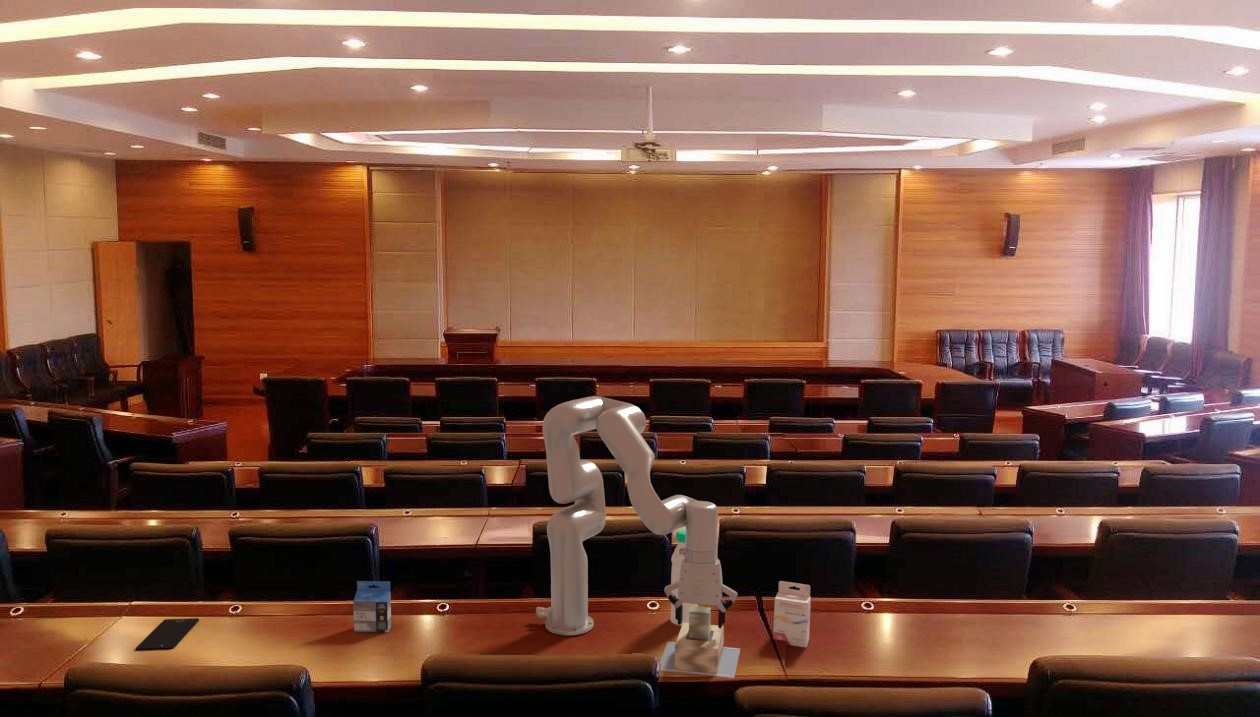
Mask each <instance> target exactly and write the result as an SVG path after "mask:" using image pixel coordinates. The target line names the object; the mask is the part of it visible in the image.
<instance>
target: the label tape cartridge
mask: <svg viewBox="0 0 1260 717" xmlns="http://www.w3.org/2000/svg"><path fill="white" fill-rule="evenodd" d="M356 586H357V587H356V592H355V595H354V599H353V602H352V603H353V604H352V605H353V631H354V633H389V632H390V630H391V628H392V605H391V604H392V603H391V601H392V600H391V598H392V596H391V593H392V592H391V581H379V580H378V581H376V580H357V581H356ZM370 586H371V587H370ZM372 586H376V587H372Z"/></svg>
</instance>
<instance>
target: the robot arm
mask: <svg viewBox="0 0 1260 717" xmlns="http://www.w3.org/2000/svg"><path fill="white" fill-rule="evenodd" d="M646 427H647V419H646V415H645V413H644V412H643V411H642V410H641V409H640V407H638V406H636V405H634V404H632V403H629V402H625V401H620V400H616V399H612V398H608V397H604V396H598V395H592V396H587V397H581V398H578V399H572V400H569V401H565V402H562V403H560V404H556V406H554V407H552V408H551V409H550V410H549V411H548V412H547V413H546V415H545V416H544V418H543V422H542V437H543V441H544V445H545V446H544V447H545V453H546V466H547V477H548V479H547V480H548V490H549V495H550V496H551V498H552V500H553V501H554V502H555V503H557V504H562V505H563V504H569V503H570V504H571V503H573V502H574V504H572V505H569V506H566V507H564V508H561V509H559V510H557V511H555V512H554V513H553V514H551V516H550V518H549V519H548V521H547V525H546V533H547V540H548V544H549V551H550V581H551V582H550V595H551V596H550V597H551V598H550V599H551V600H550V602H551V603H550V604H551V605H550V606H548V607H542V606H537V607H536V609H535V615H537V618H539V619H546V620H545V622H544V624H545V629H546V630H547V632H549V633H552V634H554V635H557V636H558V635H560V636H577V635H582V634H585V633H588V632H589V631H591V630H592V629H593V628H594V618H592V617H591V616H589V612H588V611H589V600H588V599H589V596H588V595H589V593H588V592H589V584H588V583H589V581H588V580H589V576H588V573H589V572H588V570H589V569H588V567H589V565H588V555H587V553H586V550H585V548H584V545H583V542H584V541H586V540H588V539H590V538H592V537H594V536H596V535H598V534H599V533H601V532H602V531H603V529H604V528H605V525H606V520H607V511H606V499H605V488H604V486H605V485H604V478H603V475H602V472H601V470H600V469H599V467H598V466H597V465H596V464H595V463H594V462H593V461H590V460H587V459H583V460H582V459H581V456H580V447H579V444H578V442H577V440H576V439H575V437H574V436H575V435H577V434H582V433H586V432H589V431H593V430H596V431H597V434H598V435H599V437H600V439H601V440H602V441H603V443H604V444H605V446H606V447H607V448H608V450H609V451H610V453H611V455H612V456H613V457H614V459H615V460H616V461H617V463H618V465H619V466H620V467H621V469H622V470H623V472H624V474H625V477H626V488H627V494H628V496H629V497H628V498H629V501H630V504H631V505H632V508H633V509H634V511H635V513H636V514H637V515H638V517H639V518H640V520H641V521H642V523H643V524H644V525H645V527H646V528H648V530H650V531H651V533H654V534H655V535H658V536H659V535H660V536H664V535H665V536H666V535H668V534H670V533H672V532H674V531H675V530H677V529H682V528H685V530H686V540H685V546H686V547H684V548H680V549H679V554H682V555H684V556H685V557H684V558H683V559H682V562H681V567H680V575H679V581H678V582H675V583H673V584H671V583H670V584H668V585H666V586H665V587H664V589H663V591H664V593H665V595H666V597H667V600H669V602H670V604H671V603H672V604H673V605H674V607H675V619H676V620H678V625H677V626H680V624H681V623H682V620H683V605H682V603H690V604H698V605H702V606H703V605H705V606H716V607H717V608H718V615H717V616H718V617H717V618H718V619H717V620H718V622H717V625H718V628H722V626H723V625H725V624H726V612H727V610H728V609H729V608H731V607H732V606H733V604H734V603H735V601H736V599H737V597H738V592H737V591H736V590H734V589H732V588H731V587H729V586H727V585H725V584H723V572H722V565H721V560H720V559H719V558H718V540H719V539H718V538H719V537H718V536H719V535H718V532H719V531H718V530H719V527H718V526H719V509H718V506H717V505H716V504H715V503H713V502H710V501H705V500H704V501H703V500H696V499H695V498H692V497H689V496H686V495H683V494H675V495H672V496H669V497H667V498H665V499H663V500H661V499H660V497H659V495H658V493H656V491H655V489H654V486H653V485H652V483H651V469H652V466H653V464H654V463H655V458H656V455H655V453H654V451H653V450H652V449H651V447H650V445H649V444H648V443H647V442H646V440H645V438H644V437H643V436H642V434H643V433H644V431H645V429H646ZM677 588H679V589H678V599H677V598H676V597H675V595H674V594H673V593H672V591H673V590H675V589H677ZM723 593H724V594H726V595H727V596H729V598H728V599H727V600H726V601H725V600H724V599H723V598H722V597H723Z"/></svg>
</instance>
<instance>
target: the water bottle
mask: <svg viewBox="0 0 1260 717" xmlns="http://www.w3.org/2000/svg"><path fill="white" fill-rule="evenodd" d="M675 539H676V543H677V546H676V547H675V548H674V551H673V553H672V555H671V559H670V560H671V563H672V564H671V573H670V574H671V575H670V576H671V577H670V584H673V583H675V582H678V581H679V575H680V567H681V562H682V559H683V558H684V557H685V556H684V555H682V554H679V549H680V548H684V547H686V546H685V540H686V529H681V530H678V531H677V532H676V534H675ZM678 589H679V588H677V589H675V590H673V591H672V593H673V594H674V595H675V597H676V598H677V599H678ZM682 605H683V620H682V623H681V624H680V625H678V620H676V619H675V607H674V605H673V604H672V603H671V602H670V608H671V609H670V610H671V612H670V622H671V623H672V624H674V625H675V626H676V625H677V626H681V627H682V624H683V622H684V623H689V613H690V610H691V607H692V606H697V607H699V604H690V603H682Z"/></svg>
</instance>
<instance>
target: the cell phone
mask: <svg viewBox="0 0 1260 717" xmlns="http://www.w3.org/2000/svg"><path fill="white" fill-rule="evenodd" d="M199 620H200V618H197V617H196V618H193V617H192V618H167V619H164V620H162V621H161V623H159V624H158V625H157V626H156V627H155V628H154V629H153V630H152V631H151V632H150V633H149V634H148V635H147V636H146V637H145V638H144V639H143V640H142V641H141V642H140V643H139V644H138V645H137V646H136V647H135V650H136V651H140V652H141V651H163V650H166V651H169V650H174V649H175V648H176V647H177V645H179V644H180V642H181V641H182V640H184V638H185V637H186V636H187V635H188V634H189V632H190V631H191V630H192V629H193V628H194V627H195V626H196V625H197V624H198V622H199Z"/></svg>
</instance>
